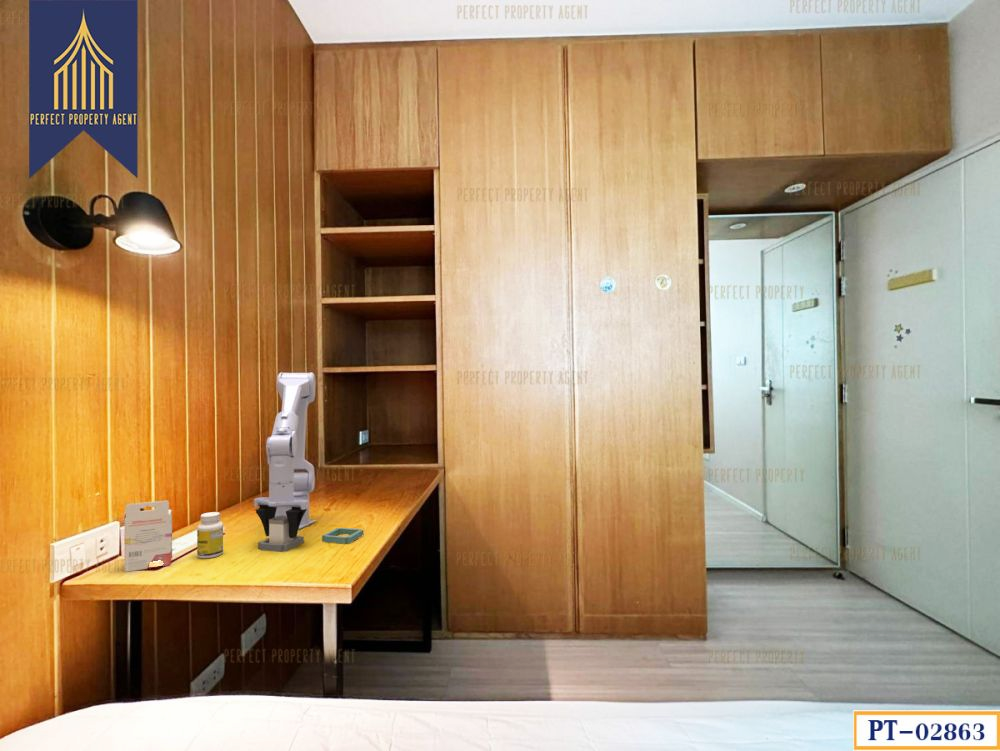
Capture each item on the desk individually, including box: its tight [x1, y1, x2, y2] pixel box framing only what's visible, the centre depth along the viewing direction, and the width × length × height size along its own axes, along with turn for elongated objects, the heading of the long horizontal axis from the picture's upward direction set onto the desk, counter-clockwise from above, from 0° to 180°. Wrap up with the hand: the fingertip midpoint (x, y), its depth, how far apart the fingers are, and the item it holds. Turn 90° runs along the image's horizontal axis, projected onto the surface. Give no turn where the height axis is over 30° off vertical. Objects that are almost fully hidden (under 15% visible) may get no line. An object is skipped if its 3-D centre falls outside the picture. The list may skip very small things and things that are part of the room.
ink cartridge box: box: [123, 500, 173, 573], centre depth 114 cm, size 9×5×15 cm, turn 118°
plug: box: [268, 515, 293, 544], centre depth 128 cm, size 4×4×7 cm
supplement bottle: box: [196, 511, 224, 559], centre depth 121 cm, size 5×5×10 cm
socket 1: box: [257, 534, 305, 552], centre depth 128 cm, size 8×8×2 cm
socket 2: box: [321, 527, 365, 544], centre depth 134 cm, size 8×8×2 cm
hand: (281, 536), depth 128 cm, fingers open, 6 cm apart
